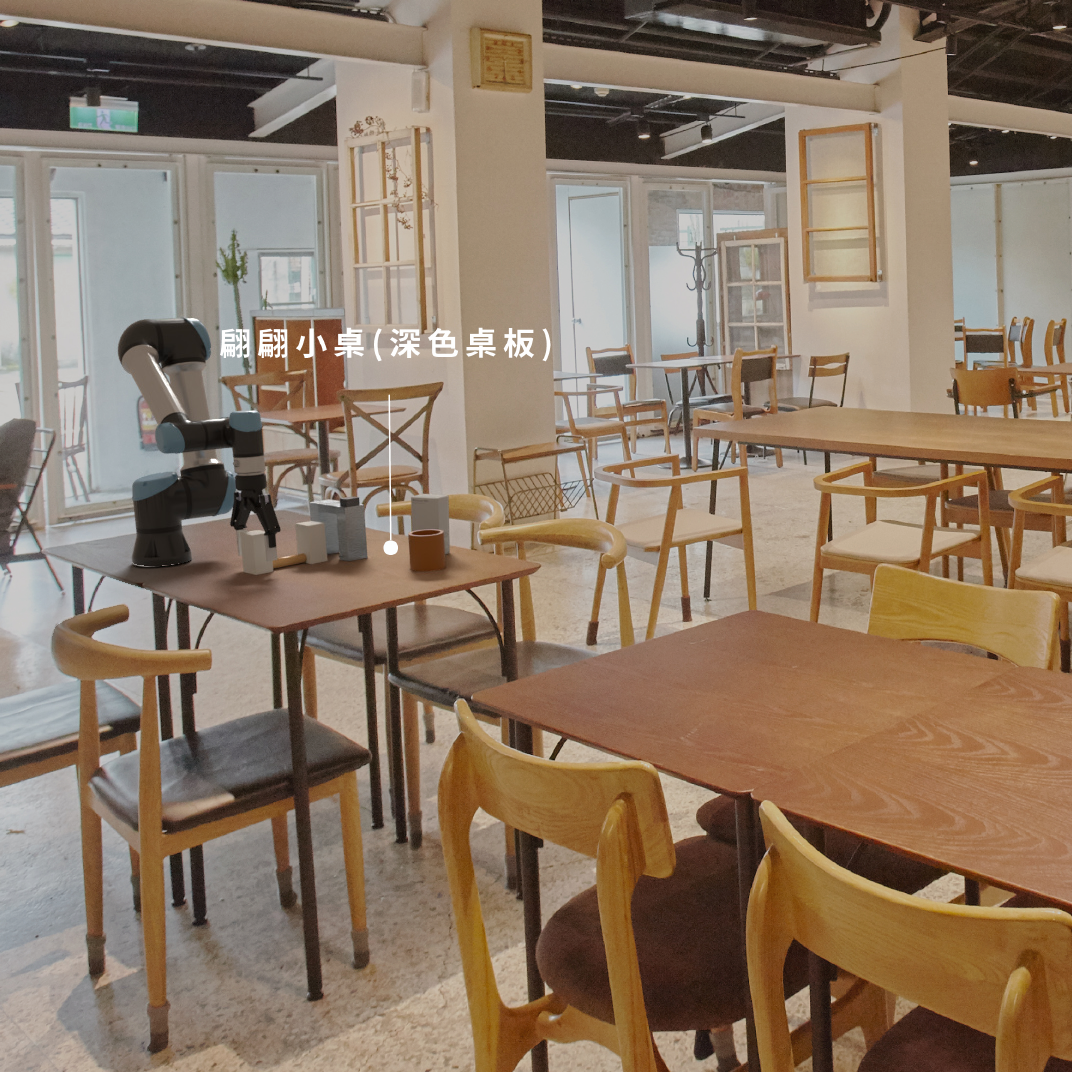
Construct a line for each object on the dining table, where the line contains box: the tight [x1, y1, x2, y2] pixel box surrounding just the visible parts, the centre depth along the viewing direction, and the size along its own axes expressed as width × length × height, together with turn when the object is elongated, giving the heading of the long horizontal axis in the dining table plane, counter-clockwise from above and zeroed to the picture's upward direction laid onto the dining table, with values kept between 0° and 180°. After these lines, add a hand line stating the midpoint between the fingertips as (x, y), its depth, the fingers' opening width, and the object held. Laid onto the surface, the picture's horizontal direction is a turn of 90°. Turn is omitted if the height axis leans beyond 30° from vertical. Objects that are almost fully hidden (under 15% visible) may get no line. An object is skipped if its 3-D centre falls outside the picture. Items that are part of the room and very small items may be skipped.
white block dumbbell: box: [240, 520, 328, 576], centre depth 309 cm, size 6×21×10 cm, turn 133°
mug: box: [407, 529, 447, 572], centre depth 302 cm, size 9×12×9 cm
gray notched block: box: [309, 496, 369, 562], centre depth 320 cm, size 16×6×16 cm, turn 43°
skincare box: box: [410, 493, 451, 556], centre depth 317 cm, size 8×7×16 cm
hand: (257, 557), depth 304 cm, fingers open, 13 cm apart
